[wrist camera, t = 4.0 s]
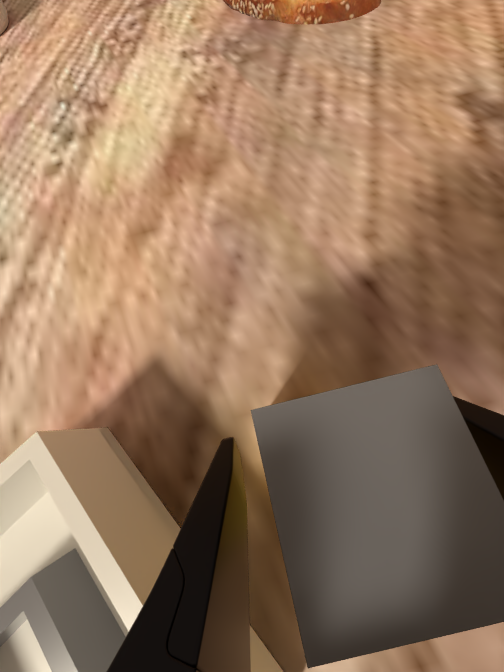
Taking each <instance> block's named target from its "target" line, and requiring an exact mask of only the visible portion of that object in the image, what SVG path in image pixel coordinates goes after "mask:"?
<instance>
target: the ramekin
mask: <svg viewBox="0 0 504 672" xmlns="http://www.w3.org/2000/svg"><path fill="white" fill-rule="evenodd" d="M8 23H9V20H8V13H7V10H6V8H5V6H4V4H3V2H2V0H0V35H1V34H2V33H3V32H4V31H5V29H6V28H7V26H8Z"/></svg>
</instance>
